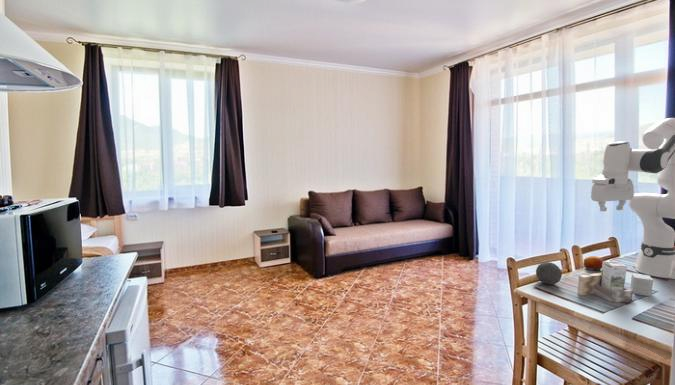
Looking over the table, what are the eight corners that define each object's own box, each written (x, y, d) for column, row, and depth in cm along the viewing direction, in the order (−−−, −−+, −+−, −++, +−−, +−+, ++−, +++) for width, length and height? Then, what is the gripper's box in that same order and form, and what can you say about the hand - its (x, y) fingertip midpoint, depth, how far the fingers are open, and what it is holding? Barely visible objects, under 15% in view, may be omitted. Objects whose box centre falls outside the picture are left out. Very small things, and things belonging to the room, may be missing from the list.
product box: (648, 291, 147) (650, 275, 146) (651, 297, 142) (653, 280, 141) (629, 288, 151) (631, 272, 150) (632, 293, 146) (634, 277, 145)
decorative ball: (533, 278, 163) (534, 258, 162) (557, 280, 160) (558, 260, 158) (537, 286, 154) (539, 265, 152) (563, 289, 150) (565, 267, 149)
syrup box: (612, 293, 146) (616, 260, 144) (623, 299, 140) (627, 265, 138) (598, 293, 147) (602, 260, 145) (608, 299, 141) (612, 265, 139)
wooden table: (616, 287, 152) (618, 270, 151) (642, 297, 142) (645, 279, 140) (577, 293, 146) (578, 275, 145) (602, 304, 136) (604, 285, 135)
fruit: (591, 270, 169) (587, 254, 172) (583, 273, 176) (579, 257, 179) (609, 271, 167) (605, 255, 171) (600, 274, 175) (596, 258, 178)
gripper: (624, 177, 154) (621, 208, 156) (589, 179, 149) (586, 210, 151) (640, 179, 148) (636, 210, 150) (604, 180, 143) (600, 213, 145)
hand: (611, 210), depth 150 cm, fingers open, 8 cm apart
